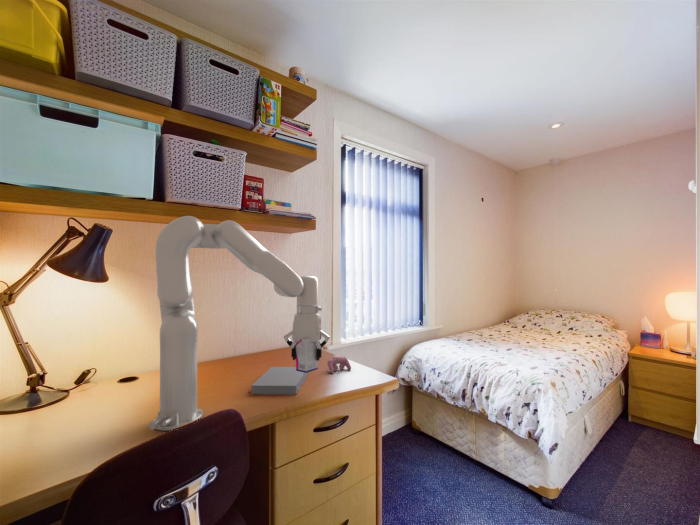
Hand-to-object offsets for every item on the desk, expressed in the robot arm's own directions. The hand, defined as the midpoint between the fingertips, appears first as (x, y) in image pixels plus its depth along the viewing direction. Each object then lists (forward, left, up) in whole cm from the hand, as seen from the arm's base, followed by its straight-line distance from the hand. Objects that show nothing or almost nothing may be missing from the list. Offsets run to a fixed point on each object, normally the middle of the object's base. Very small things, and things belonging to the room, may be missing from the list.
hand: (306, 359), depth 109 cm
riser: (+9, +11, -12) cm, 19 cm away
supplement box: (0, 0, -4) cm, 4 cm away
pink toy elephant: (+25, -9, -12) cm, 30 cm away
